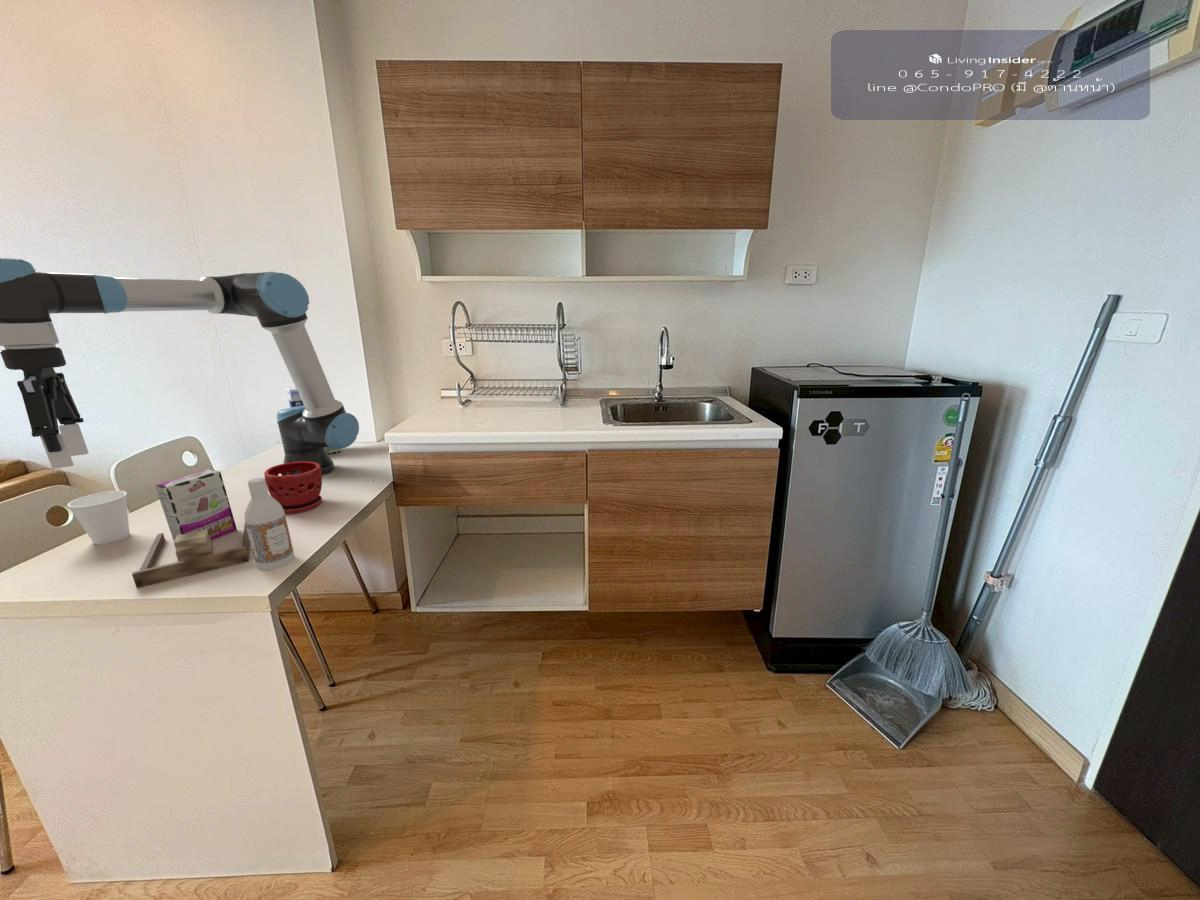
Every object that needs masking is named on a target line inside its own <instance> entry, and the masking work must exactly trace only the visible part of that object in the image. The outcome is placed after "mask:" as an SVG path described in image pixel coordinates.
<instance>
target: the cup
mask: <svg viewBox="0 0 1200 900" xmlns="http://www.w3.org/2000/svg"><path fill="white" fill-rule="evenodd" d="M127 495H128V493H127V491H125V490H124V491H123V490H112V491H111V490H109V491H102V492H96V493H92V494H87V495H85V496H82V497H78V498H76V499H75V498H74V499H73V500H71V501H70V502H68V503H67V505H66V507H67V508H69V509H70V511H71V512H72V513H73V515H74V517H75V518H76V520H77V521H78V522H79V524H80V525H81V526H82V528H83V529H84V531H85V532H86V534H87V535H88V537H89V538H90V541H91V542H92V543H93V544H94V545H106V544H111V543H115V542H118V541H121V540H124V539H126V538H128V537H129V536H130V535H131V533H130V526H129V515H128V514H129V513H128V500H127Z"/></svg>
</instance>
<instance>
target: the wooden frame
mask: <svg viewBox="0 0 1200 900" xmlns="http://www.w3.org/2000/svg"><path fill="white" fill-rule="evenodd" d="M243 528H244V529H243V533H242V534H243V537H242V544H241V546H240V547H236V548H232V549H228V550H227V549H226V550H222V551H218V552H217V553H213V554H209V555H205V556H200V557H196V558H192V559H187V560H183V561H178V562H177V561H175V562H171V563H167V564H162V565H157V566H153V565H155V563H156V561H157V559H158V557H159V555H160V552H161V550H162V548H163V547H164V543H165V542H166V538H165V534H164V532H161V533H157V534H156V536H155V538H154V540H153V542H152V544H151V546H150V548H149V549H150V550H149V549H148V552H147V554H146V556H145V558H144V559H143V560H144V561H143V562H142V564H141V566H140V568H139V570H136V571H132V573H131V576H132V578H133V581H134V585H135V587H136V589H139V587H140V588H144V587H148V586H152V585H156V584H159V583H165V582H169V581H172V580H177V579H182V578H185V577H188V576H193V575H197V574H201V573H205V572H210V571H214V570H218V569H223V568H226V567H231V566H235V565H238V564H243V563H247V562H249V561H250V551H251V550H250V549H251V544H250V540H249V536H248V532H247V528H246V524H245V523H244V526H243ZM147 585H148V586H147Z"/></svg>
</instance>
